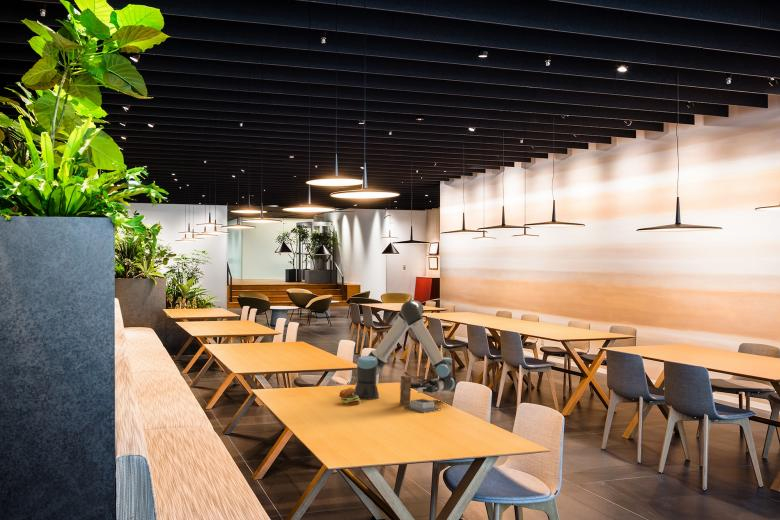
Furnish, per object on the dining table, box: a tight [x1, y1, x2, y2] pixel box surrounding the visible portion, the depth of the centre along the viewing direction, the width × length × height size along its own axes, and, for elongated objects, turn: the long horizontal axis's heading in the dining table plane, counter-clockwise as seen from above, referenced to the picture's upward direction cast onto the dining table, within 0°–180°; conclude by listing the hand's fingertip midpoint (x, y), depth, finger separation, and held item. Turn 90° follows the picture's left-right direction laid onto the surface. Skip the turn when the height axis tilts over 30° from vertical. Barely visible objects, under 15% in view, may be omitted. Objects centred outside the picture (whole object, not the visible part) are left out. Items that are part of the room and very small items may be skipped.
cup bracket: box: [403, 398, 441, 414], centre depth 362 cm, size 14×14×4 cm
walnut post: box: [399, 375, 412, 407], centre depth 373 cm, size 4×4×16 cm
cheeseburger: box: [338, 386, 361, 406], centre depth 368 cm, size 10×11×10 cm
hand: (409, 388), depth 374 cm, fingers open, 13 cm apart
